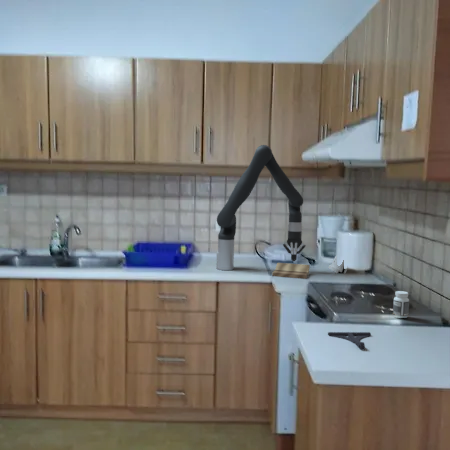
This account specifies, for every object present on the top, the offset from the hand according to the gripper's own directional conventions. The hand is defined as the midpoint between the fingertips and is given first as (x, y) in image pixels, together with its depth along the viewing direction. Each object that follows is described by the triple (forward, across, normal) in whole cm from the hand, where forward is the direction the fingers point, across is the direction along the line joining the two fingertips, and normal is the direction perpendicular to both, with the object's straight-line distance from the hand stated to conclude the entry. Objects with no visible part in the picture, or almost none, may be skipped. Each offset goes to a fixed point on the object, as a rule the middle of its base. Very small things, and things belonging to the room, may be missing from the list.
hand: (293, 260), depth 272 cm
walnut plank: (+6, 0, -11) cm, 13 cm away
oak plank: (+5, 0, -3) cm, 6 cm away
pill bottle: (+7, +53, -71) cm, 89 cm away
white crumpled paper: (+7, +24, +17) cm, 30 cm away
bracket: (+8, +37, -107) cm, 114 cm away
